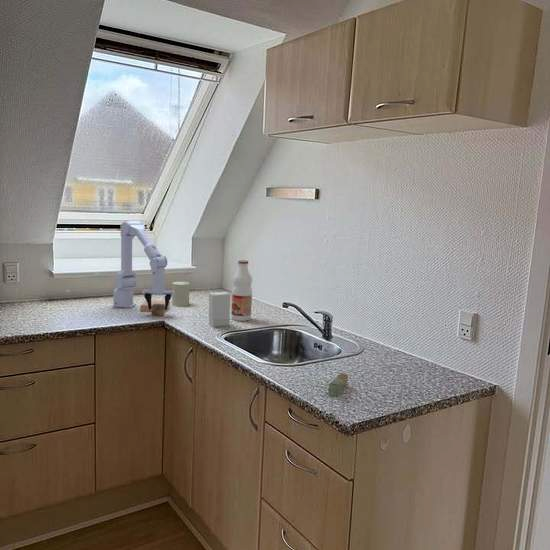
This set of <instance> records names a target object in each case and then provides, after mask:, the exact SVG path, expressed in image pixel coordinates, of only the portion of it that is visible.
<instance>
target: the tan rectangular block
mask: <svg viewBox="0 0 550 550" xmlns="http://www.w3.org/2000/svg"><path fill="white" fill-rule="evenodd" d="M153 304H164V313H166V312H165V311H166V310H165V300H163V301H162V300H151V309H150V310H149V307H148V303H147V301H146V300H145V301H144V302H142V303H141V304H139V305H140V312H147V311H152V305H153ZM169 307H170V308H171V301H169V303H168V307H167V309H168V308H169ZM170 308H169V309H170ZM169 309H168V310H169Z"/></svg>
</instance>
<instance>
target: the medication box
mask: <svg viewBox="0 0 550 550" xmlns="http://www.w3.org/2000/svg"><path fill="white" fill-rule="evenodd" d="M348 378H349V374H347V373H344V372H340V373H339V374H338V375H337V376H336V377H335V378H334V379H333V380H332V381H331V382H330V383H329V387H328V396H329V397H332V398H337V397H338V396H339V394H341V392H342V391H343V390H344V389H345V388H346V387H347V385H348Z"/></svg>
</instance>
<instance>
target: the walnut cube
mask: <svg viewBox="0 0 550 550" xmlns="http://www.w3.org/2000/svg"><path fill="white" fill-rule="evenodd" d="M150 313H151V315H153V316H152V317H163V316H164V315H165V312H164V304H153V305H152V311H151V312H150ZM163 314H164V315H163ZM151 315H150V316H151ZM162 315H163V316H162Z"/></svg>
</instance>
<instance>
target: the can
mask: <svg viewBox="0 0 550 550" xmlns="http://www.w3.org/2000/svg"><path fill="white" fill-rule="evenodd" d="M190 284H191V283H190V282H188V281H173V282H172V283H171V285H172V286H171V287H172V288H171V291H174V295H172V296H171V305H172V306H173V305H174V306H173V307H187V305H188V306H190V287H191V286H190Z"/></svg>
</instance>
